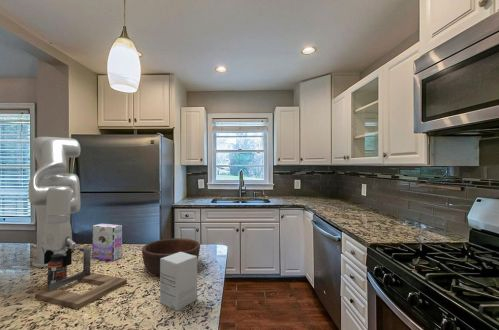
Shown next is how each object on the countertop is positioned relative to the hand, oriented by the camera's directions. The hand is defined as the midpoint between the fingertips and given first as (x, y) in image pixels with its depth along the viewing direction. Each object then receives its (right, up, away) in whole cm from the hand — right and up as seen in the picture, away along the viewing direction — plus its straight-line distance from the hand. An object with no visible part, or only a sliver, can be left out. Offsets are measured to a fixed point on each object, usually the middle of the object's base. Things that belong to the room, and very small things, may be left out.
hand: (57, 264), depth 99 cm
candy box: (+2, -9, +30) cm, 31 cm away
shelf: (+13, -8, -4) cm, 16 cm away
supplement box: (+49, -8, -11) cm, 51 cm away
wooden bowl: (+38, -9, +18) cm, 43 cm away
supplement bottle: (-1, -8, 0) cm, 8 cm away
